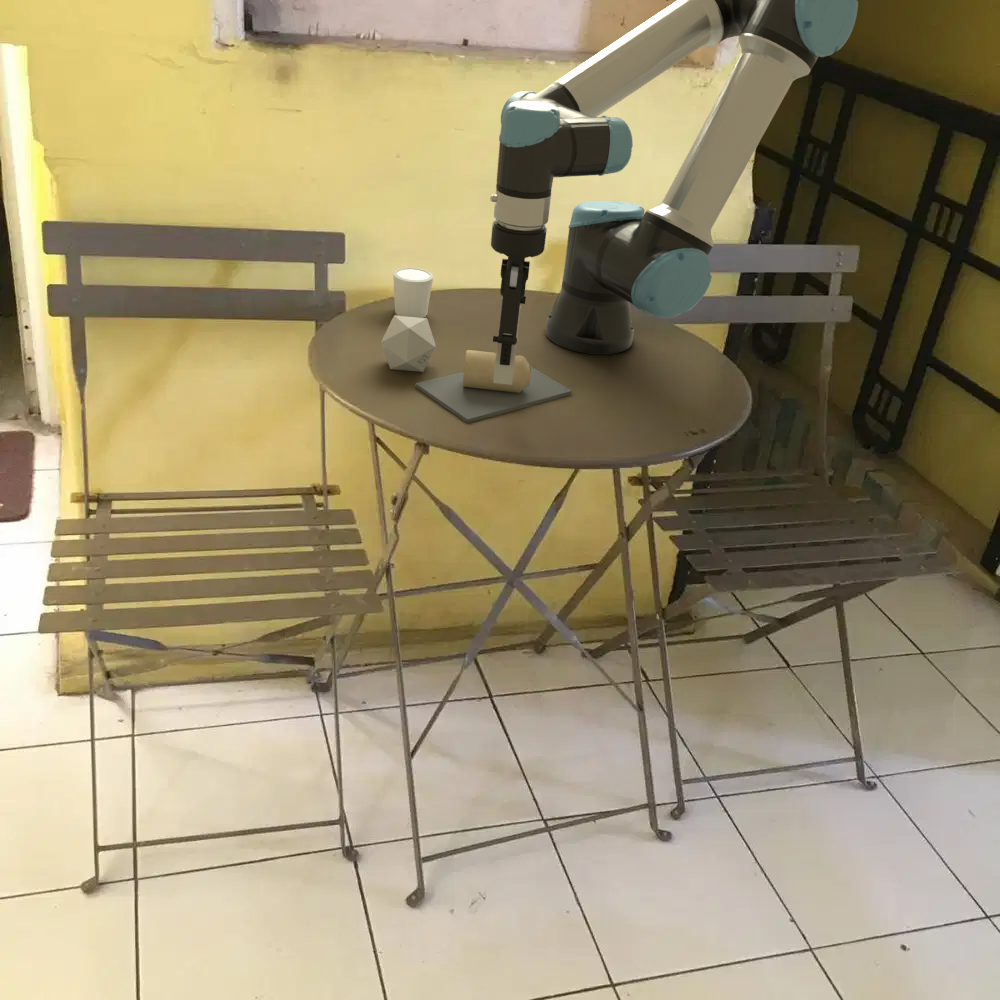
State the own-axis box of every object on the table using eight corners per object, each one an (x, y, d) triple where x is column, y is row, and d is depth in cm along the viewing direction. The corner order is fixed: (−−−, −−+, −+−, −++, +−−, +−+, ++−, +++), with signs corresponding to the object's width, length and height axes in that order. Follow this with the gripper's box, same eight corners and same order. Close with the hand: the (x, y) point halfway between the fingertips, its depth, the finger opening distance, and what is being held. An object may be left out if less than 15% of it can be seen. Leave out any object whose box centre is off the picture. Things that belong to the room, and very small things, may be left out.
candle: (467, 343, 153) (533, 350, 153) (464, 375, 156) (529, 382, 156) (464, 360, 148) (532, 368, 148) (461, 393, 151) (528, 400, 151)
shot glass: (415, 323, 173) (417, 284, 170) (383, 312, 176) (385, 273, 172) (438, 313, 178) (441, 274, 175) (406, 302, 181) (408, 264, 177)
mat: (517, 362, 164) (518, 358, 164) (571, 394, 156) (571, 390, 155) (415, 386, 153) (415, 383, 152) (467, 423, 144) (467, 419, 144)
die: (412, 388, 154) (450, 336, 152) (365, 353, 152) (403, 301, 151) (414, 383, 162) (449, 334, 160) (369, 350, 160) (405, 301, 159)
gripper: (498, 194, 151) (486, 328, 162) (486, 248, 130) (473, 397, 141) (548, 200, 151) (533, 333, 162) (545, 254, 130) (527, 403, 141)
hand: (505, 363), depth 151 cm, fingers open, 13 cm apart
